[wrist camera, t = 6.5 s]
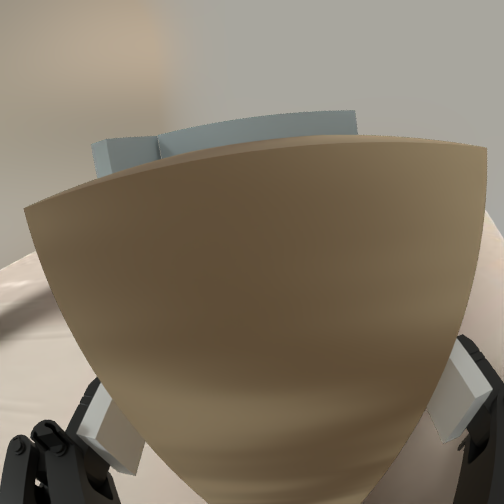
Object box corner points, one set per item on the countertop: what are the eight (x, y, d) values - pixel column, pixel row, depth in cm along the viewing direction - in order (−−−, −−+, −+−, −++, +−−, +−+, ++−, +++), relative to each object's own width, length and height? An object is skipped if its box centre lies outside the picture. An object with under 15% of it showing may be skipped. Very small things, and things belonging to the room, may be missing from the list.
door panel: (255, 537, 8) (23, 208, 2) (256, 438, 14) (190, 151, 8) (335, 529, 8) (487, 148, 2) (320, 431, 14) (318, 135, 8)
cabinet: (144, 409, 17) (41, 152, 10) (185, 297, 32) (149, 138, 25) (418, 379, 16) (453, 95, 9) (357, 276, 31) (351, 111, 24)
